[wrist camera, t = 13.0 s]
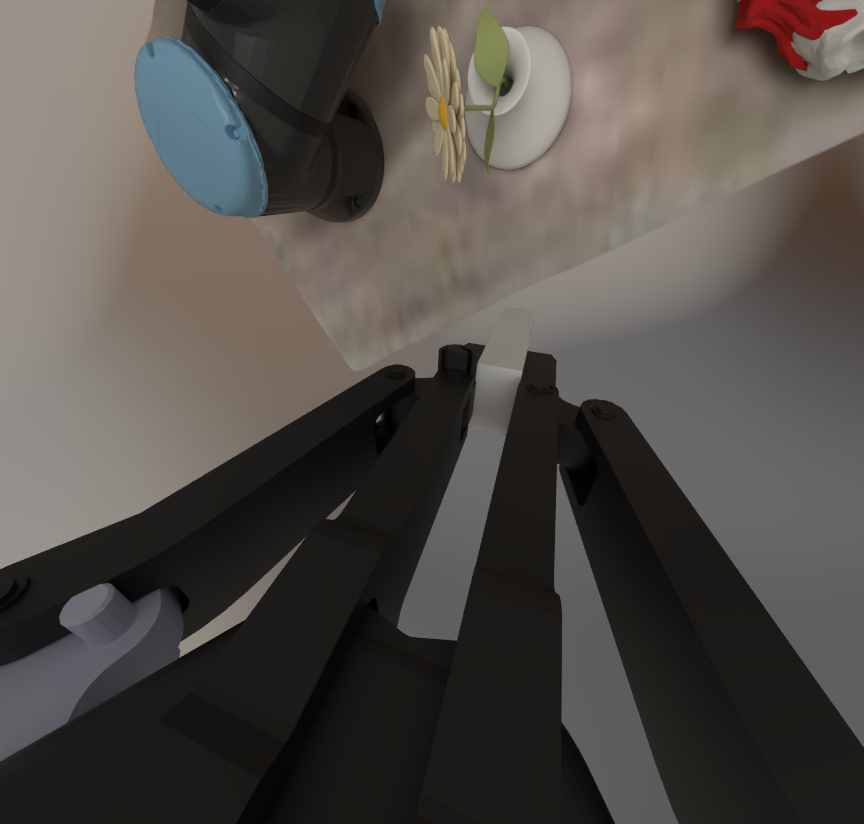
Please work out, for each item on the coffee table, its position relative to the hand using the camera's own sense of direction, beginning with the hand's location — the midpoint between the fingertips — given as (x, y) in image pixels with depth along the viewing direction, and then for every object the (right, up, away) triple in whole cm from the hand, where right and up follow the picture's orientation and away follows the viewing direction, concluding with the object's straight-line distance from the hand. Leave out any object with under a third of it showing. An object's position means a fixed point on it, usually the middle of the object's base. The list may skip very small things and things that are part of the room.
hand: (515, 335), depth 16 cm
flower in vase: (+5, +30, +21) cm, 37 cm away
